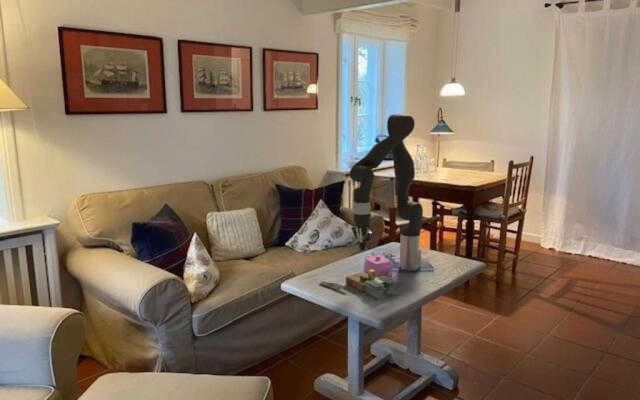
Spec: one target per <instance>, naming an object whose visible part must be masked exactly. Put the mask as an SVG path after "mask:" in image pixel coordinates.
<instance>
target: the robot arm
mask: <svg viewBox="0 0 640 400" xmlns="http://www.w3.org/2000/svg"><path fill="white" fill-rule="evenodd" d="M386 127H387V133H388V136H386V137H385V138H384V139H382V140H381V141H379V142H377V143H376V144H375V145H374V146H373V147H371V149H370V150H369V151H368V153H367V154H366V155H365V156H364V157H363V158H361V159H360V160H358V161H357V162H356V163H355V164H354V165H352V167H351V169H350V171H349V178H350V180H352V181H353V182H356V183H357V182H358V183H360V185H359V187H355V188H354V189H353V204H352V208H353V209H352V211H353V212H352V217H353V218H352V220H353V224H354V226H351V228H350V229H351V231H352V234H353V236H354V238H355V239H356V240H357V241H358V249H359V250H360V251H364V250H366V247H367V246H366V242H370V239H372V237H373V235H374V232H373V231H371V230H370V223H371V221H372V219H371V218H372V217H371V215H372V214H371V213H372V211H371V210H372V209H371V208H372V207H371V189H372V185H373V183H374V182H373V181H374V179H375V176H374V171H373V169H377V168H378V167H379V166H380V165H381V164H382V163H383V161H384V160H385V158H387V156H388V155H389V154H390V153H392V159H393V160H392V161H393V172H394V177H395V186H396V208H397V209H396V210H397V214H398V217H399V218H400V219H402V220H405V221H408V225H405V226H402V227H401V228H400V247H399V252H400V253H399V267H400V266H401V268H402V269H403V271H405V272H406V271H407V272H414V271H417V270H416V269H417V268H418V267H419V265H421V264H422V263H421V262H422V261H421V260H422V259H421V258H422V249H421V248H420V247H421V245H420V242H421V231H422V226H423V215H424V214H423V213H424V209H423V206H422V204H421V202H417V201H416V202H415V201H412V200H411V201H410V197H409V189H410V188H411V185H412V183H413V181H414V179H415V175H416V171H415V163H414V159H413V157H412V155H411V153H410V151H409V150H408V148H407V147H406V146H405V145H406V144H405V142H404V140H405V139H407V137H408V136H409V135H410V134H411V133H412V132H413V130H414V128H415V119H414V118H413V117H412V116H411V115H410V114H397V113H395V114H391V115H389V117H388V119H387V122H386ZM401 268H400V269H401ZM402 269H401V270H402Z"/></svg>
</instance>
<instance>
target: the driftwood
mask: <svg viewBox="0 0 640 400" xmlns="http://www.w3.org/2000/svg"><path fill="white" fill-rule="evenodd" d="M318 285H319V286H320V285H323V286H326V287H329V289H334V290H336V291H337V292H338V293H341V294H343V295H344V296H347V293H345V292H344V291H343V289H344V290H348V291H349V293H352V295H353V294H356V295H359V293H361V292H360V291H357V290H355V289H352V288H351V289H350V287H349V288H348V286H344V285H341V284H338V283H334V282H326V281H324V280H322V281H321V282H319V283H318ZM348 296H349V297H351V294H348Z"/></svg>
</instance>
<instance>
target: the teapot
mask: <svg viewBox="0 0 640 400" xmlns="http://www.w3.org/2000/svg"><path fill="white" fill-rule="evenodd" d="M363 264H364V265H363V272H365V271H366V272H368V273H369V270H372V269H373V270H375V276H376V277H381V276H386V277H388V278H390V279H392V277H393V267H392V261H391V260H390V259H388V258H387V257H384V256H383V255H381V254H380V255H379V254H378V255H371V254H370V255H367V257H365V258H364V263H363Z"/></svg>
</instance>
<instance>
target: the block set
mask: <svg viewBox="0 0 640 400" xmlns="http://www.w3.org/2000/svg"><path fill="white" fill-rule="evenodd" d="M368 277H369V273H368V272H366V271H365V272H364V271H362V272H358V273H354V274H350V275H348V276H345V285H346V287H349V288H351V289H352V290H355V291H356V292H359V291H360V292H359V293H360V294H364V295H365V296H366V297H369V299H370V298H371V299H372V300H375V301H376V302H377V301H381V300H383V299H387V298H390V297H393V296H396V295H397V283H398V282H397V281H396V280H394V279H392V278H391V279H390V278H388V277H386V276H381V277H376V276H375V278H378V279H380V280H382V281H384V282H385V286H384V285H383V284H381V283H379V282H377V281H374V280H372V279H371V280H368Z"/></svg>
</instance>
